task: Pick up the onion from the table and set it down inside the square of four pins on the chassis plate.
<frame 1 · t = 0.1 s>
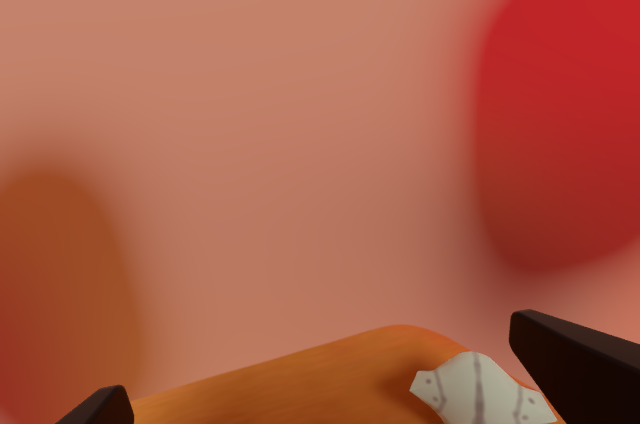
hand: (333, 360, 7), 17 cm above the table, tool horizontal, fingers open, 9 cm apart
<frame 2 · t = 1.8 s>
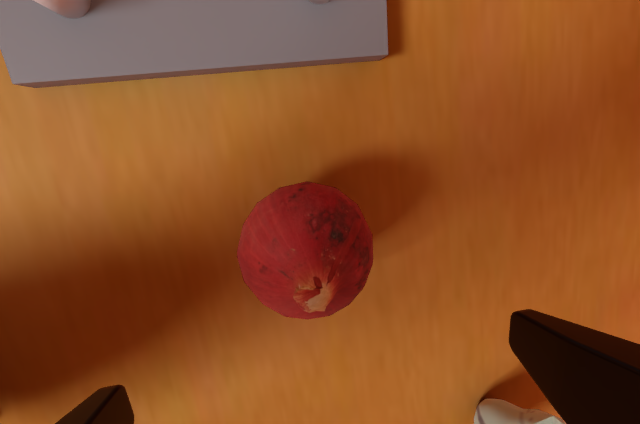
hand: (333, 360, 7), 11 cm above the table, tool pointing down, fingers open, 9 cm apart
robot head: (482, 402, 23), on the table
onion: (299, 222, 17), on the table
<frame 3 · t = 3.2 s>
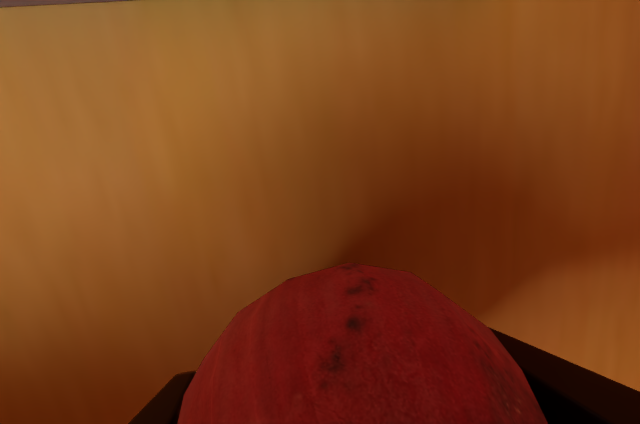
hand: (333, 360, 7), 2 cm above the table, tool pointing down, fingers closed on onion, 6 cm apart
onion: (320, 310, 9), on the table, touching gripper
when the fingers open (4 cm above the table, at t = 7.5 s): onion drops 1 cm, resting on chassis plate.
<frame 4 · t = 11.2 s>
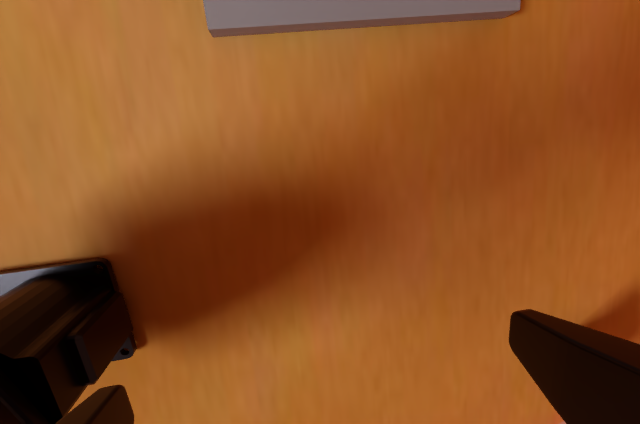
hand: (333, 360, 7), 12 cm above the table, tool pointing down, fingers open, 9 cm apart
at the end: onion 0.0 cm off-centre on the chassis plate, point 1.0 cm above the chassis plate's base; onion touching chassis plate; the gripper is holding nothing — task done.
